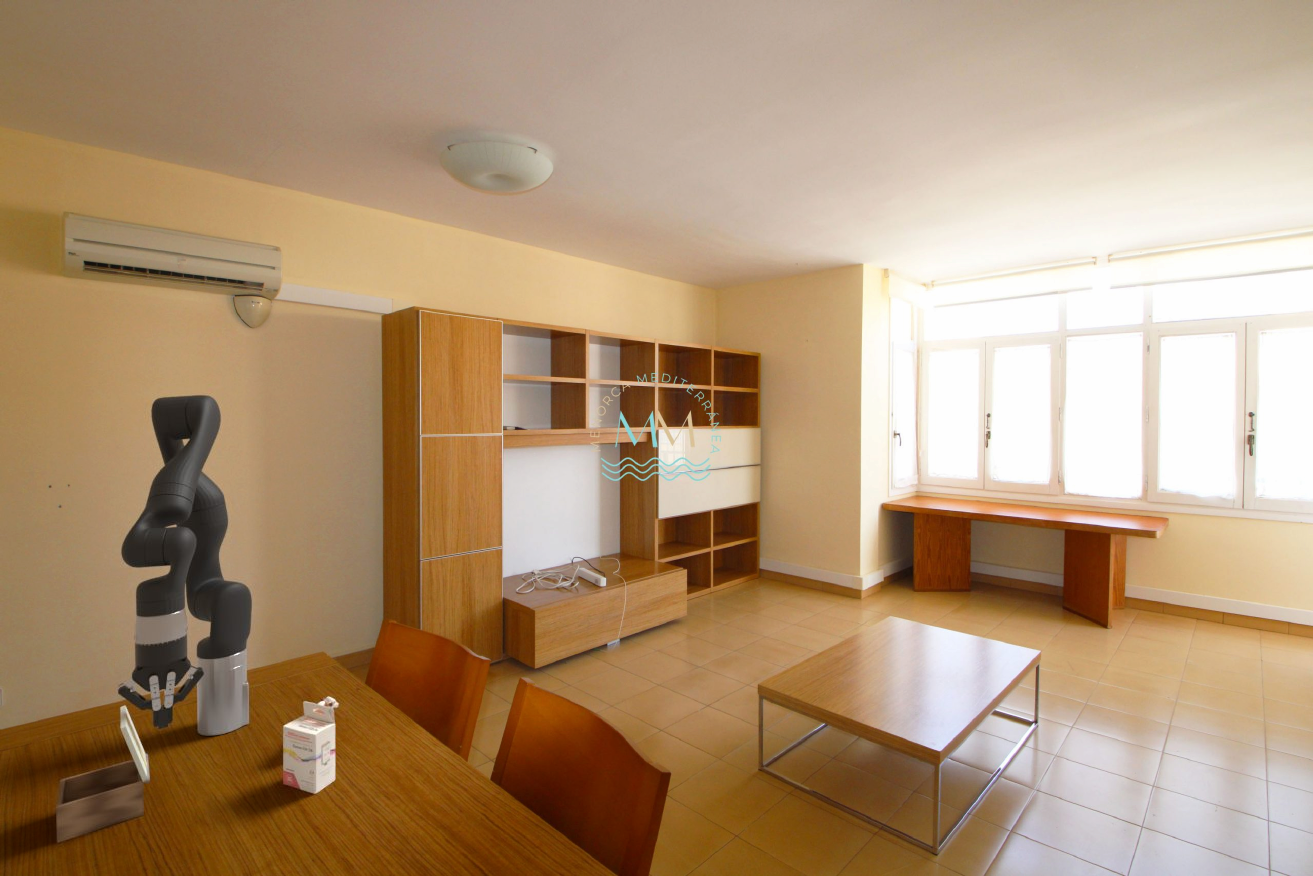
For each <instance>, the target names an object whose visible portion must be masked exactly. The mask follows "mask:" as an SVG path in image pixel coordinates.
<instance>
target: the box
mask: <svg viewBox="0 0 1313 876" xmlns="http://www.w3.org/2000/svg"><path fill="white" fill-rule="evenodd" d="M58 788H59V789H58V793H57V801H56V806H55V811H56V812H55V813H56V816H55V817H56V843H57V844H58V843H61V842H64V841H67V840H71V839H73V838H77V837H80V836H83V835H87V834H89V833H92V832H96V831H98V830H102V829H104V828H108V827H111V826H114V825H117V824H120V823H122V822H127V821H129V820H132V819H133V820H134V819H136V818H139V817H142V816H144V811H145V810H144V782H143V781H142V778H141V776H140V774H139V771H138V769H137V766H136V764H135V762H134V759H132V760H126V761H124V762H120V763H117V764H113V765H109V766H104V767H102V768H98V769H95V770H94V769H93V770H90V771H88V772H84V773H80V774H76V775H73V776H69V777H66V778H62V779H60V781H59V787H58Z"/></svg>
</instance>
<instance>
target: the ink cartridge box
mask: <svg viewBox="0 0 1313 876" xmlns="http://www.w3.org/2000/svg"><path fill="white" fill-rule="evenodd" d="M302 702H303V703H302V705H303V706H302V707H303V715H302V716H299V717H297V718H296V719H294V720H292V721H289V722H287V723H286V724H284V725H283V726H282V727H283V728H282V733H283V734H282V735H283V737H282V745H283V747H282V751H283V753H282V754H283V756H282V757H283V758H282V762H283V763H282V765H283V766H282V767H283V769H282V770H283V771H282V774H283V775H282V777H283V778H282V781H283V782H282V784H283V785H286V786H288V787H291V788H295V789H298V790H301V791H304V792H308V793H311V794H314V795H315V794H318V793H319V792H321V791H322V790H323V789H324V788H326V787H328V786H330V784H331V783H333V782H335V781H336V722H335V710H334V708H330V707H326V706H323V705H319V704H318V703H315V702H309V701H306V700H305V701H302ZM313 709H319V710H320V711H323V712H324V714H321V713H317V712H314V710H313Z"/></svg>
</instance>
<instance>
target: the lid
mask: <svg viewBox="0 0 1313 876" xmlns="http://www.w3.org/2000/svg"><path fill="white" fill-rule="evenodd" d="M127 708H128V707H127V706H126V704H125V705H122V706H120V707H119V709H120V730H121V733H122V736H123V737H124V740H125V742H126V745H127V747H128V750H129V752H130V755H131V756H132V760H134V762H135V764H136V766H137V769H138V771H139V774H140V776H141V778H142V781H143V784H147V783H149V782H150V780H151V778H150V777H151V776H150V765H149V754H148V753H146V751H145V749H144V747H143V745H142V742H141V739H140V738H139V737H140V736H139V734H138V732H137V730H136V728H135V725H134V722H133V720H132V718H131V715H130V713H129V710H128V709H127Z"/></svg>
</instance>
